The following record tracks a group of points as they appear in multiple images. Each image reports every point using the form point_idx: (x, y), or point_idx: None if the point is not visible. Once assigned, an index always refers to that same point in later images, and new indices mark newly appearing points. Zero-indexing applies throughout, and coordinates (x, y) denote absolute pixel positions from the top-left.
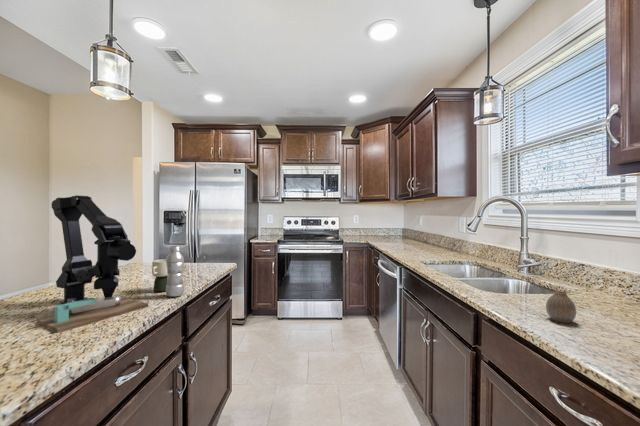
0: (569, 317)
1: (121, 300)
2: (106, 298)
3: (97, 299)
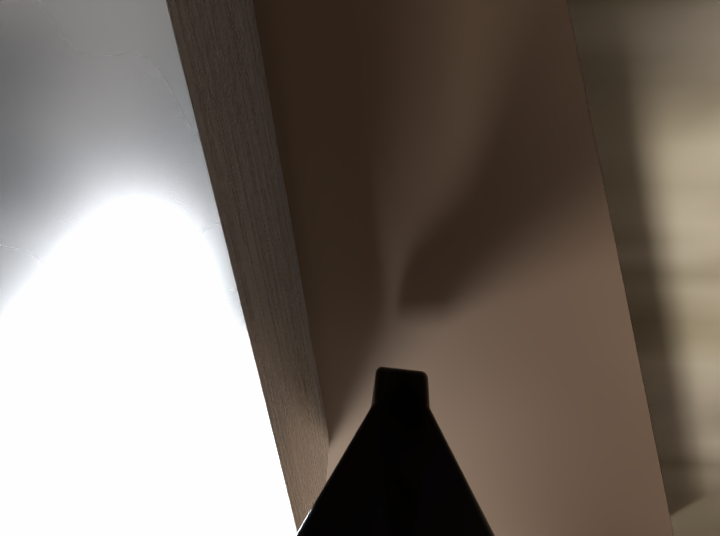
0: None
1: (503, 520)
2: (153, 486)
3: (169, 290)
